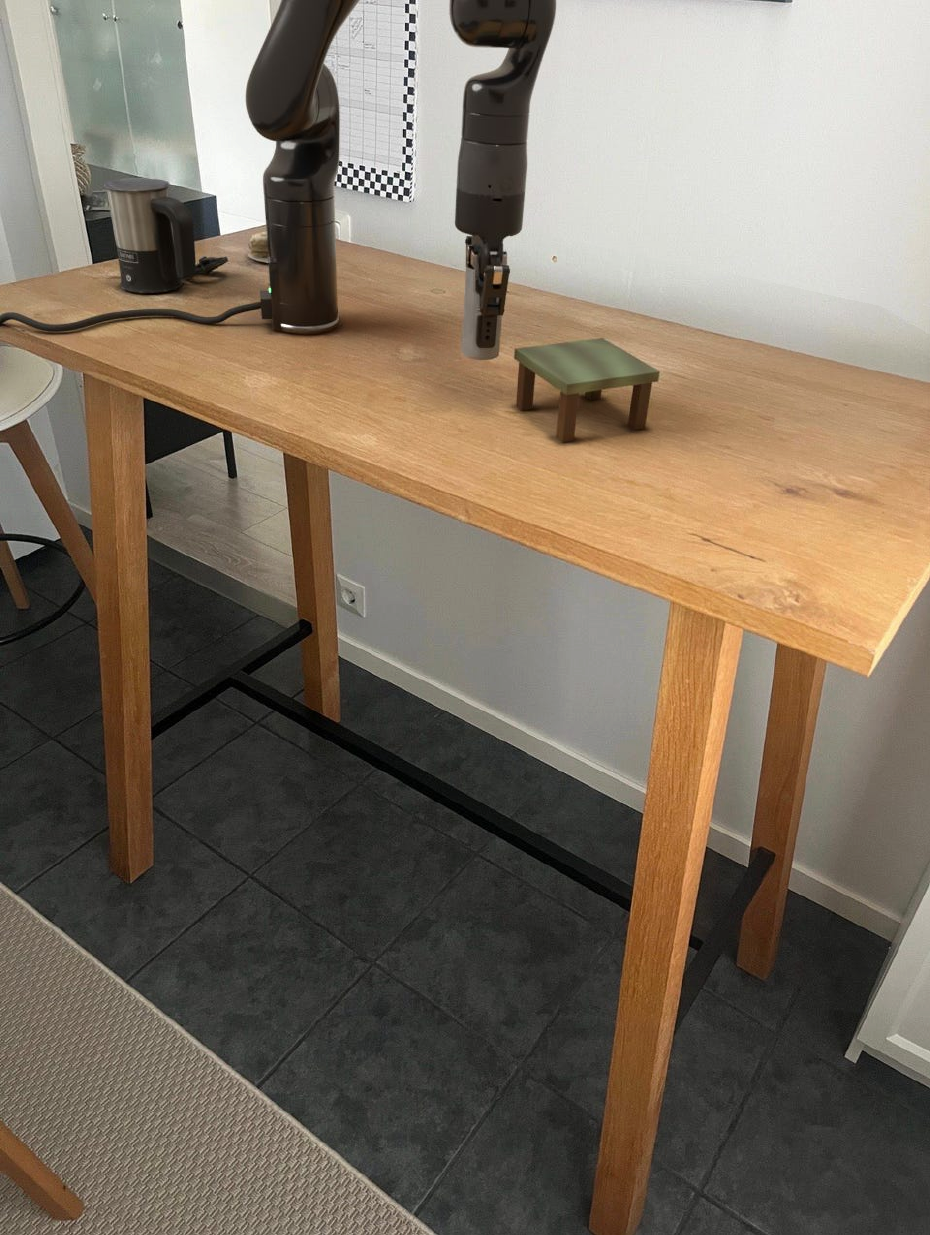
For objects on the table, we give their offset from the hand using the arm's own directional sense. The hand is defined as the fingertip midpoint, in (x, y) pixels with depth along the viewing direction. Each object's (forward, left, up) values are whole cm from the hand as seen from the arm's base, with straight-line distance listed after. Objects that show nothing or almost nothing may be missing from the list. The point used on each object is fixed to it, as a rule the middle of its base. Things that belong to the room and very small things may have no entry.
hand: (481, 338), depth 116 cm
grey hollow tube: (0, 0, -2) cm, 2 cm away
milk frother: (-38, +50, -7) cm, 63 cm away
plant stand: (+11, -8, -7) cm, 15 cm away
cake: (-22, +64, -7) cm, 68 cm away
